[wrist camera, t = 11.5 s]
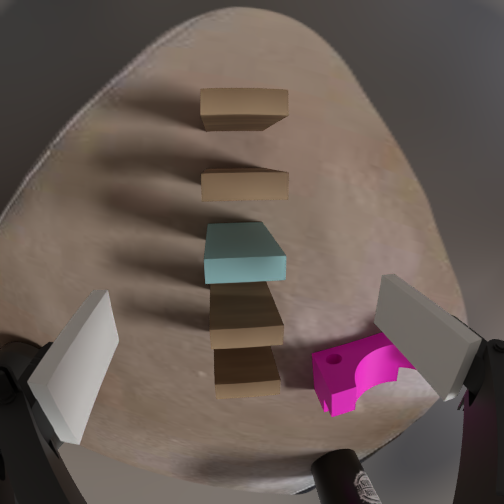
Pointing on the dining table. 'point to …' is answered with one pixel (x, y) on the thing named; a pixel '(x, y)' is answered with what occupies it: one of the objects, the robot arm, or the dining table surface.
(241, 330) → the domino
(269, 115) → the domino
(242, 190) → the domino
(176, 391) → the dining table surface
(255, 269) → the domino
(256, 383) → the domino
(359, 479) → the water bottle
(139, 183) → the dining table surface
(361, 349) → the toy block
